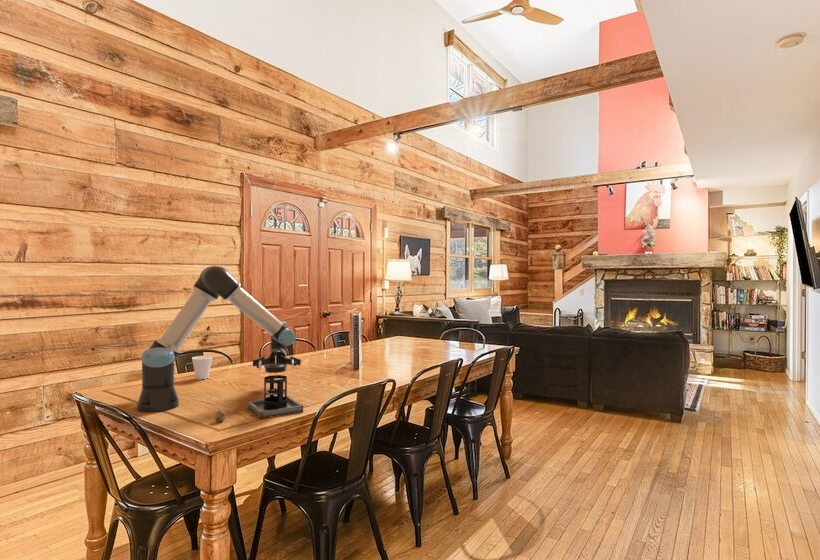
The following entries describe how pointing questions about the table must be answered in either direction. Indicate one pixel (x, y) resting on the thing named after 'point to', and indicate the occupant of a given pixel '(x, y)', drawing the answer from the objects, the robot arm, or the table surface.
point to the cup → (202, 366)
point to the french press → (278, 400)
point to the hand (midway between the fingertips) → (276, 366)
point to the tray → (261, 412)
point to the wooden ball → (220, 415)
